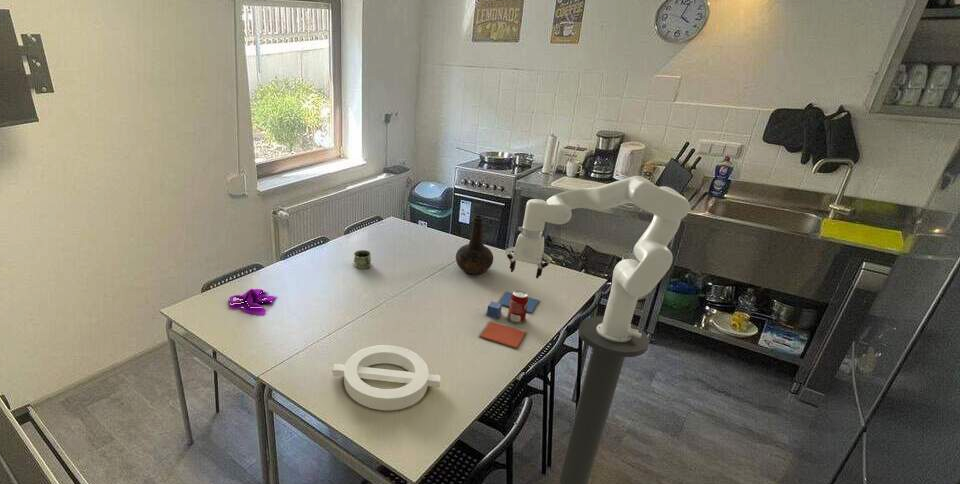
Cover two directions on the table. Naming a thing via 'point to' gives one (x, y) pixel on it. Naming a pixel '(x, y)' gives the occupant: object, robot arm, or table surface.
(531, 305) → the blue mat
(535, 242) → the robot arm
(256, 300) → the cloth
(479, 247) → the brown vase
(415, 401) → the white circle with bar
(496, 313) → the blue block
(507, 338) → the orange mat
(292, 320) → the table surface
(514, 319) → the soda can
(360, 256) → the vessel
